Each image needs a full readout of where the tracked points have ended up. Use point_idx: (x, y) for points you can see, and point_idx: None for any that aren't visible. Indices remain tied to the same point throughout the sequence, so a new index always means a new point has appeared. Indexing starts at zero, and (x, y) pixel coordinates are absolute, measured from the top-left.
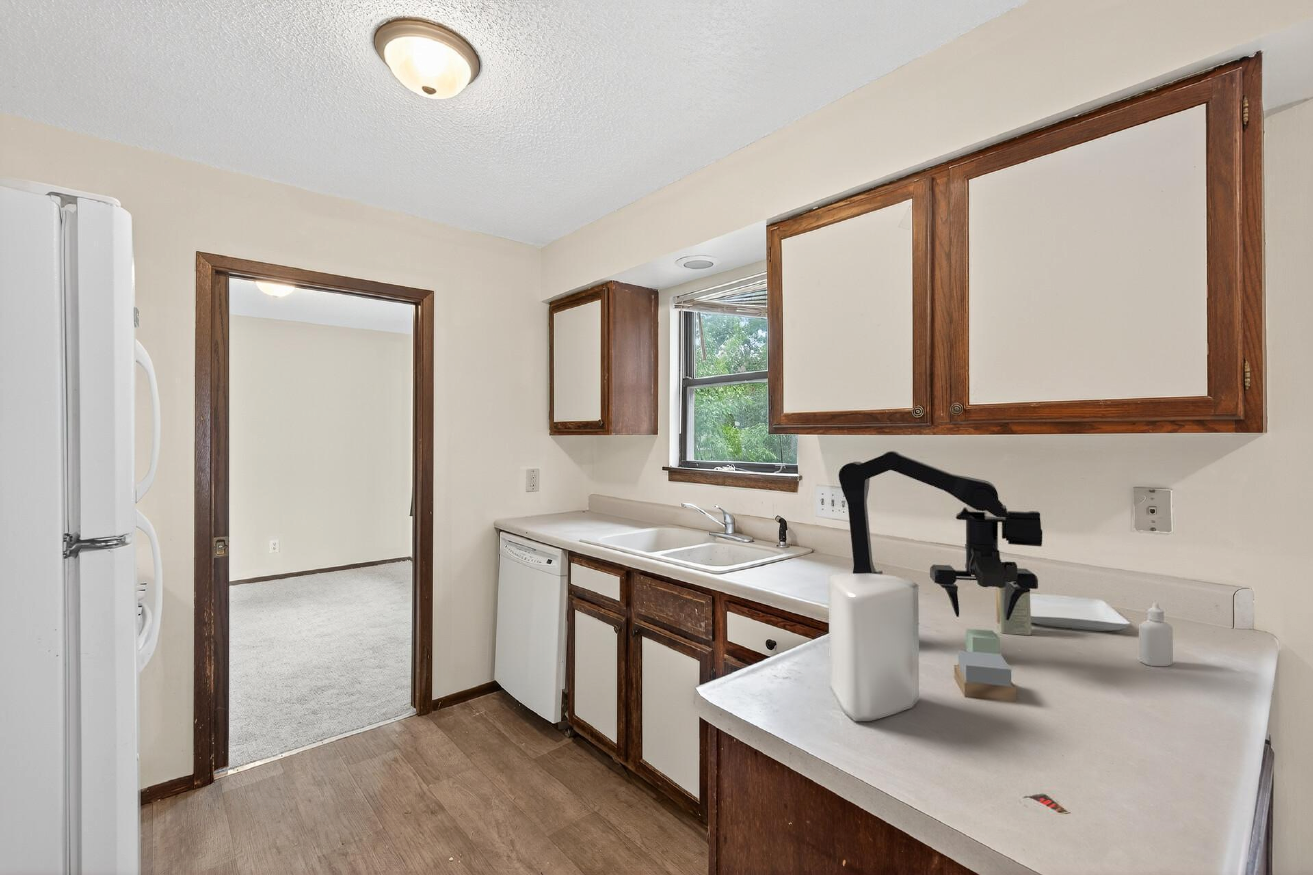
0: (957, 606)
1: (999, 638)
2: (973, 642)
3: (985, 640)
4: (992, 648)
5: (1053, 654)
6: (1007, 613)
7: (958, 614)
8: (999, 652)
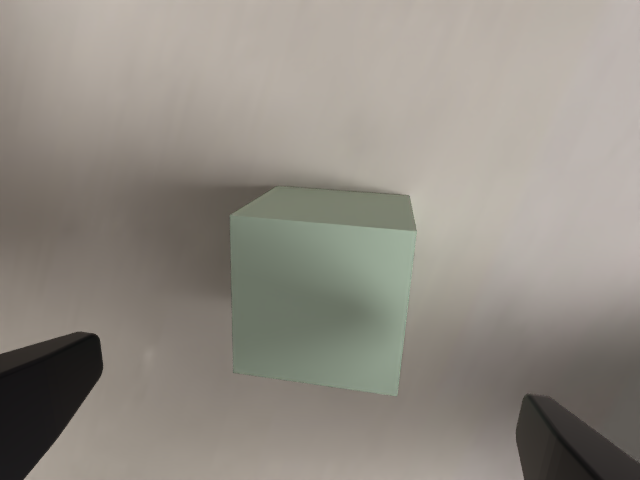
0: (616, 475)
1: (231, 223)
2: (408, 220)
3: (328, 217)
4: (296, 202)
5: (32, 318)
6: (41, 357)
7: (543, 405)
8: (264, 195)
